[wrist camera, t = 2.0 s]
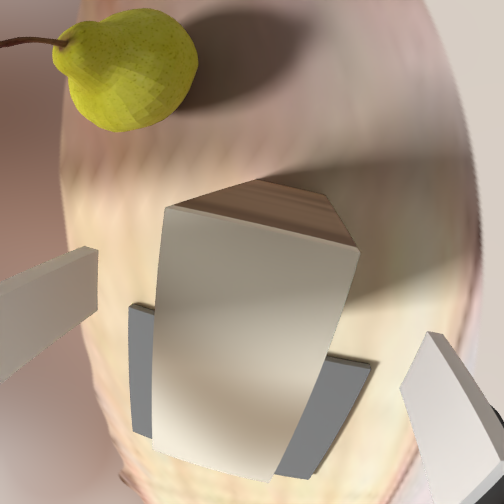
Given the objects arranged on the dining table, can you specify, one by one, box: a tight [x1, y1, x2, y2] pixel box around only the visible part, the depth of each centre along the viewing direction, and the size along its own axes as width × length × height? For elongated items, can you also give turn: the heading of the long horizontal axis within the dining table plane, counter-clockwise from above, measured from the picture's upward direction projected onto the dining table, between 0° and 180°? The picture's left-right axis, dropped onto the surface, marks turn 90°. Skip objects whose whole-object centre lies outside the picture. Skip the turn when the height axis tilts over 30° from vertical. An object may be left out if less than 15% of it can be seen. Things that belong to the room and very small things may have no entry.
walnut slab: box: [152, 180, 360, 483], centre depth 13 cm, size 8×4×12 cm, turn 168°
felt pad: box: [128, 304, 371, 480], centre depth 22 cm, size 14×17×1 cm
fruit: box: [0, 8, 198, 132], centre depth 11 cm, size 7×7×12 cm
